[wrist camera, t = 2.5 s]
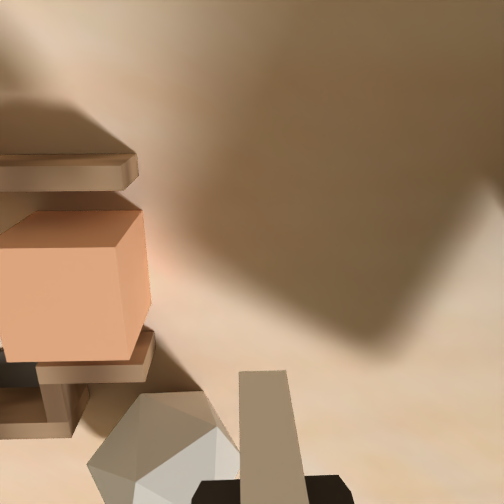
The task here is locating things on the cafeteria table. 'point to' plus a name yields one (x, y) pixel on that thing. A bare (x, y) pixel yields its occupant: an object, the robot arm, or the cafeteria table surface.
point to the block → (73, 286)
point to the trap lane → (63, 372)
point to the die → (164, 451)
